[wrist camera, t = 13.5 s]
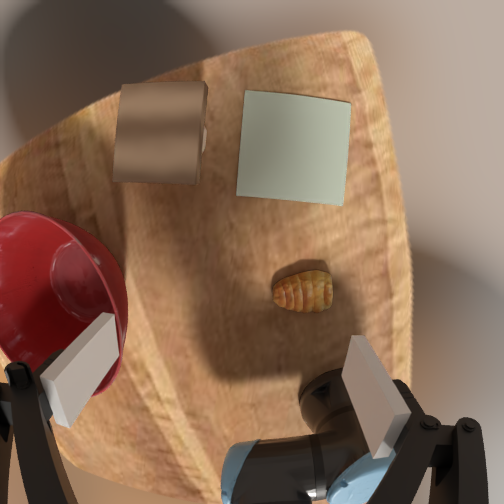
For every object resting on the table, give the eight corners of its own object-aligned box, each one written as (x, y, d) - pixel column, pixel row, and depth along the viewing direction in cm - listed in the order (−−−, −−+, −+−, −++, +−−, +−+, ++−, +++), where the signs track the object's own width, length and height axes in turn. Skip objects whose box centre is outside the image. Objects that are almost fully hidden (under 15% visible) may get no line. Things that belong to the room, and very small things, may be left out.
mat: (342, 205, 45) (342, 206, 45) (236, 195, 45) (236, 195, 45) (350, 103, 42) (351, 103, 41) (245, 90, 42) (245, 90, 41)
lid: (199, 184, 39) (195, 184, 36) (121, 181, 39) (112, 182, 36) (208, 87, 36) (204, 81, 33) (130, 89, 36) (122, 84, 33)
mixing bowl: (39, 335, 52) (-3, 371, 37) (24, 198, 45) (-34, 209, 30) (159, 362, 53) (133, 418, 38) (159, 203, 46) (116, 216, 31)
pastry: (273, 311, 50) (274, 321, 46) (270, 271, 48) (272, 279, 45) (330, 306, 50) (335, 315, 46) (330, 266, 48) (335, 273, 44)
